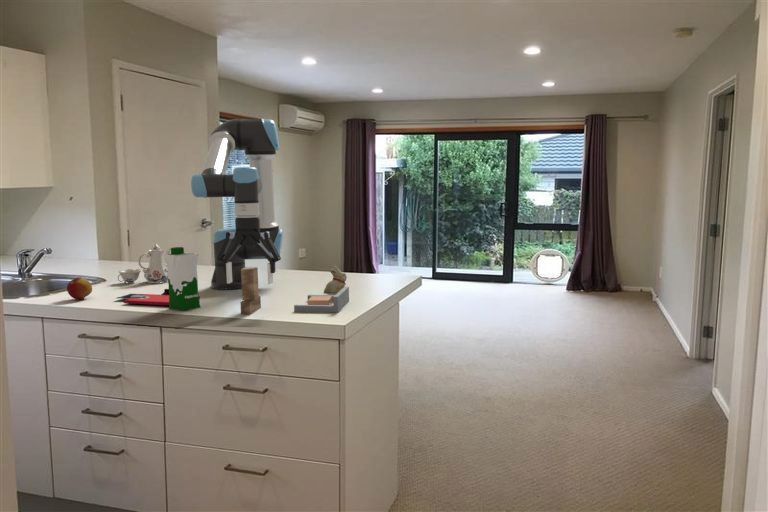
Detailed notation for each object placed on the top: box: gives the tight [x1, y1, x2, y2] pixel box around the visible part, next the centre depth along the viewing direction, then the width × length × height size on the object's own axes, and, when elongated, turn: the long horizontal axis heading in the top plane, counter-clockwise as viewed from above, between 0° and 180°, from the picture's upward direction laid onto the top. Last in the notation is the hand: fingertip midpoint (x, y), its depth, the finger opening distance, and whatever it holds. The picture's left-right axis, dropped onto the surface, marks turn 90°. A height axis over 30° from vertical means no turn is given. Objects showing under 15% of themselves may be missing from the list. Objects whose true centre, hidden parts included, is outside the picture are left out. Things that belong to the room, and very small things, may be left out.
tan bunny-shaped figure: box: [323, 265, 348, 294], centre depth 226 cm, size 6×8×10 cm
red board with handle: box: [116, 288, 201, 306], centre depth 212 cm, size 30×3×15 cm
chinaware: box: [117, 243, 171, 284], centre depth 254 cm, size 28×17×17 cm, turn 143°
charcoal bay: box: [293, 286, 350, 313], centre depth 200 cm, size 14×18×5 cm
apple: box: [66, 276, 93, 301], centre depth 217 cm, size 8×8×8 cm
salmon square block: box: [307, 296, 333, 305], centre depth 201 cm, size 7×7×3 cm
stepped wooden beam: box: [240, 266, 262, 316], centre depth 194 cm, size 4×10×14 cm, turn 172°
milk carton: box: [164, 246, 201, 312], centre depth 199 cm, size 9×9×20 cm
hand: (250, 283), depth 193 cm, fingers open, 13 cm apart
